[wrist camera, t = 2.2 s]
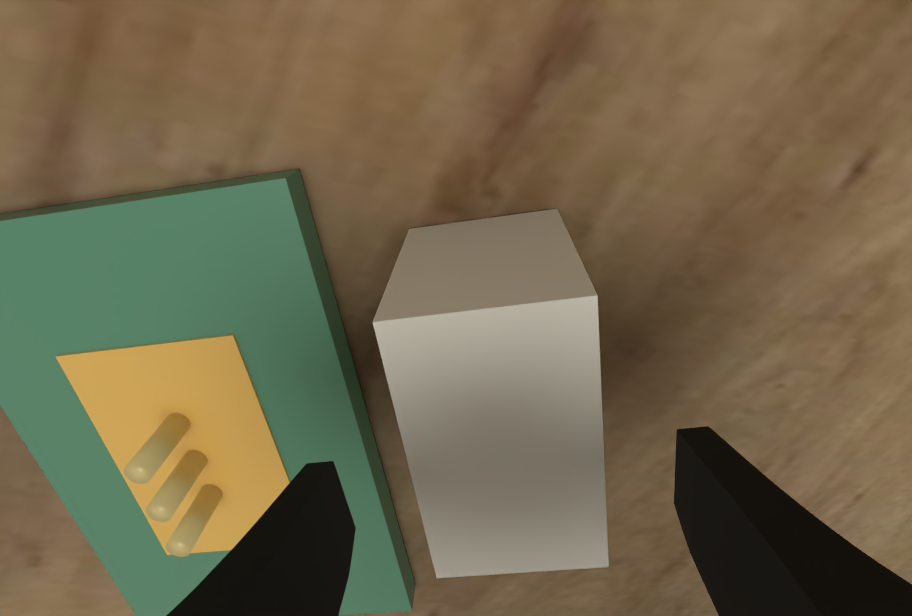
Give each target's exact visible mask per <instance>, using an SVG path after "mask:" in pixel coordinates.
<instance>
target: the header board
mask: <svg viewBox="0 0 912 616" xmlns="http://www.w3.org/2000/svg"><path fill="white" fill-rule="evenodd" d="M0 406H1V407H2V409H3V410H4V412H5V413H6V415H7V416H8V418H9V420H10V421H11V423H12V424H13V426H14V427H15V429H16V430H17V432H18V434H19V435H20V437H21V438H22V440H23V441H24V443H25V444H26V446H27V447H28V449H29V451H30V452H31V454H32V455H33V457H34V458H35V460H36V461H37V463H38V464H39V466H40V468H41V469H42V471H43V472H44V474H45V475H46V477H47V478H48V480H49V482H50V483H51V485H52V486H53V488H54V489H55V491H56V492H57V494H58V495H59V497H60V499H61V500H62V502H63V503H64V505H65V506H66V508H67V509H68V511H69V512H70V514H71V516H72V517H73V519H74V520H75V522H76V523H77V525H78V526H79V528H80V530H81V531H82V533H83V534H84V536H85V537H86V539H87V540H88V542H89V543H90V545H91V547H92V548H93V550H94V551H95V553H96V554H97V556H98V557H99V559H100V561H101V562H102V564H103V565H104V567H105V568H106V570H107V571H108V573H109V574H110V576H111V578H112V579H113V581H114V582H115V584H116V585H117V587H118V588H119V590H120V591H121V593H122V595H123V596H124V598H125V599H126V601H127V602H128V604H129V605H130V607H131V609H132V610H133V612H134V613H135V615H136V616H166V615H167V614H169V613H170V612H171V611H172V610H173V609H174V608H175V607H176V606H177V605H178V604H179V603H180V602H181V601H182V600H183V599H184V598H185V597H186V596H187V595H189V594H190V593H191V592H192V591H193V590H194V589H195V588H196V587H197V586H198V585H199V584H200V582H201V581H202V580H203V579H204V578H205V577H206V576H207V575H208V574H209V573H210V572H211V571H212V570H213V569H214V568H215V567H216V566H217V565H218V563H219V562H220V561H221V560H222V559H223V558H224V557H225V556H226V555H227V554H228V553H229V552H230V551H231V550H232V549H233V548H234V547H235V545H236V544H237V543H238V542H239V541H240V540H241V539H242V538H243V537H244V535H245V534H246V533H247V532H248V531H249V530H250V529H251V527H252V526H253V525H254V524H255V523H256V522H257V521H258V519H259V518H260V517H261V516H262V515H263V514H264V513H265V511H266V510H267V509H268V508H269V507H270V505H271V504H272V503H273V502H274V501H275V500H276V498H277V497H278V496H279V495H280V494H281V493H282V491H283V490H284V489H285V488H286V487H287V485H288V484H289V483H290V482H291V481H292V480H293V478H294V477H295V476H296V475H297V474H298V473H299V471H300V470H301V469H302V468H303V467H304V466H305V465H306V464H307V463H316V462H327V461H334V464H335V467H336V470H337V473H338V476H339V479H340V482H341V485H342V488H343V491H344V494H345V497H346V500H347V503H348V506H349V509H350V512H351V515H352V518H353V521H354V524H355V527H356V530H355V538H354V545H353V553H352V559H351V566H350V572H349V577H348V581H347V585H346V589H345V593H344V597H343V600H342V604H341V608H340V612H339V615H354V614H370V613H387V612H404V611H412V607H413V599H414V590H415V582H414V579H413V575H412V571H411V568H410V564H409V561H408V557H407V553H406V550H405V546H404V543H403V539H402V535H401V532H400V528H399V525H398V521H397V518H396V514H395V510H394V507H393V503H392V500H391V496H390V492H389V489H388V485H387V482H386V478H385V475H384V471H383V467H382V464H381V460H380V457H379V453H378V449H377V446H376V442H375V439H374V435H373V431H372V428H371V424H370V421H369V417H368V414H367V410H366V406H365V403H364V399H363V396H362V392H361V388H360V385H359V381H358V378H357V374H356V371H355V367H354V363H353V360H352V356H351V353H350V349H349V345H348V342H347V338H346V335H345V331H344V327H343V324H342V320H341V317H340V313H339V310H338V306H337V302H336V299H335V295H334V292H333V288H332V284H331V281H330V277H329V274H328V270H327V267H326V263H325V259H324V256H323V252H322V249H321V245H320V241H319V238H318V234H317V231H316V227H315V223H314V220H313V216H312V213H311V209H310V206H309V202H308V198H307V195H306V191H305V188H304V184H303V180H302V177H301V173H300V170H299V169H295V170H289V171H282V172H275V173H269V174H262V175H256V176H249V177H242V178H236V179H229V180H223V181H216V182H210V183H203V184H196V185H190V186H183V187H177V188H170V189H163V190H157V191H150V192H144V193H137V194H131V195H124V196H117V197H111V198H104V199H98V200H91V201H84V202H78V203H71V204H65V205H58V206H52V207H45V208H38V209H32V210H25V211H19V212H12V213H5V214H0Z"/></svg>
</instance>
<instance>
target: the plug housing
mask: <svg viewBox="0 0 912 616" xmlns="http://www.w3.org/2000/svg"><path fill="white" fill-rule="evenodd" d="M373 326H374V330H375V334H376V338H377V342H378V346H379V350H380V354H381V358H382V362H383V366H384V370H385V374H386V378H387V382H388V386H389V390H390V394H391V398H392V402H393V406H394V410H395V414H396V418H397V422H398V426H399V430H400V434H401V438H402V442H403V446H404V450H405V454H406V458H407V462H408V466H409V470H410V474H411V478H412V482H413V486H414V490H415V494H416V498H417V502H418V506H419V510H420V514H421V518H422V522H423V526H424V530H425V534H426V538H427V542H428V546H429V550H430V554H431V557H432V561H433V565H434V569H435V573H436V577H437V578H447V577H462V576H478V575H493V574H508V573H523V572H539V571H554V570H569V569H584V568H599V567H609V564H608V540H607V515H606V491H605V466H604V442H603V417H602V393H601V368H600V344H599V319H598V295H597V293H596V291H595V289H594V287H593V285H592V282H591V280H590V278H589V276H588V274H587V272H586V270H585V268H584V265H583V263H582V261H581V259H580V257H579V255H578V253H577V250H576V248H575V246H574V244H573V242H572V240H571V238H570V235H569V233H568V231H567V229H566V227H565V225H564V223H563V220H562V218H561V216H560V214H559V212H558V210H557V209H551V210H543V211H536V212H529V213H521V214H514V215H507V216H499V217H492V218H485V219H477V220H470V221H463V222H455V223H448V224H441V225H433V226H426V227H419V228H411V229H409V230H408V233H407V236H406V238H405V241H404V243H403V246H402V248H401V251H400V253H399V256H398V258H397V261H396V264H395V266H394V269H393V271H392V274H391V276H390V279H389V281H388V284H387V286H386V289H385V292H384V294H383V297H382V299H381V302H380V304H379V307H378V309H377V312H376V314H375V317H374V320H373Z"/></svg>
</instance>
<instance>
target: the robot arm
mask: <svg viewBox="0 0 912 616" xmlns="http://www.w3.org/2000/svg"><path fill="white" fill-rule="evenodd" d="M674 505H675V508H676V511H677V514H678V517H679V520H680V524H681V527H682V530H683V533H684V536H685V539H686V542H687V545H688V547H689V550H690V553H691V555H692V558H693V560H694V562H695V564H696V567H697V569H698V571H699V573H700V575H701V578H702V580H703V582H704V584H705V586H706V589H707V591H708V593H709V595H710V597H711V599H712V602H713V604H714V606H715V608H716V610H717V612H718V614H719V616H912V584H910V583H909V582H907V581H906V580H904V579H902V578H901V577H899V576H898V575H896V574H895V573H893V572H892V571H890V570H889V569H887V568H886V567H884V566H883V565H881V564H880V563H878V562H877V561H875V560H874V559H872V558H871V557H869V556H868V555H867V554H865V553H864V552H862V551H861V550H859V549H858V548H857V547H855V546H854V545H852V544H851V543H850V542H848V541H847V540H846V539H844V538H843V537H842V536H840V535H839V534H838V533H836V532H835V531H834V530H832V529H831V528H829V527H828V526H827V525H825V524H824V523H823V522H822V521H820V520H819V519H818V518H816V517H815V516H814V515H813V514H811V513H810V512H809V511H807V510H806V509H805V508H804V507H802V506H801V505H800V504H799V503H798V502H796V501H795V500H794V499H793V498H791V497H790V496H789V495H788V494H786V493H785V492H784V491H783V490H781V489H780V488H779V487H778V486H777V485H775V484H774V483H773V482H772V481H771V480H769V479H768V478H767V477H766V476H765V475H764V474H762V473H761V472H760V471H759V470H758V469H757V468H755V467H754V466H753V465H752V464H751V463H750V462H748V461H747V460H746V459H745V458H744V457H743V456H742V455H740V454H739V453H738V452H737V451H736V450H735V449H734V448H732V447H731V446H730V445H729V444H728V443H727V442H726V441H725V440H723V439H722V438H721V437H720V436H719V435H718V434H717V433H715V432H714V431H713V430H712V429H711V428H709V427H697V428H687V429H677V438H676V464H675V491H674ZM355 530H356V527H355V524H354V521H353V518H352V515H351V512H350V509H349V506H348V503H347V500H346V497H345V494H344V491H343V488H342V485H341V482H340V479H339V476H338V473H337V470H336V467H335V464H334V461H327V462H316V463H307V464H306V465H305V466H304V467H303V468H302V469H301V470H300V471H299V473H298V474H297V475H296V476H295V477H294V478H293V480H292V481H291V482H290V483H289V484H288V485H287V487H286V488H285V489H284V490H283V491H282V493H281V494H280V495H279V496H278V497H277V498H276V500H275V501H274V502H273V503H272V504H271V505H270V507H269V508H268V509H267V510H266V511H265V513H264V514H263V515H262V516H261V517H260V518H259V519H258V521H257V522H256V523H255V524H254V525H253V526H252V527H251V529H250V530H249V531H248V532H247V533H246V534H245V535H244V537H243V538H242V539H241V540H240V541H239V542H238V543H237V544H236V545H235V547H234V548H233V549H232V550H231V551H230V552H229V553H228V554H227V555H226V556H225V557H224V558H223V559H222V560H221V561H220V562H219V563H218V565H217V566H216V567H215V568H214V569H213V570H212V571H211V572H210V573H209V574H208V575H207V576H206V577H205V578H204V579H203V580H202V581H201V582H200V584H199V585H198V586H197V587H196V588H195V589H194V590H193V591H192V592H191V593H190V594H189V595H187V596H186V597H185V598H184V599H183V600H182V601H181V602H180V603H179V604H178V605H177V606H176V607H175V608H174V609H173V610H172V611H171V612H170V613H169V614H167V615H166V616H339V612H340V608H341V604H342V600H343V597H344V593H345V589H346V585H347V581H348V577H349V572H350V566H351V559H352V553H353V545H354V538H355Z"/></svg>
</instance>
